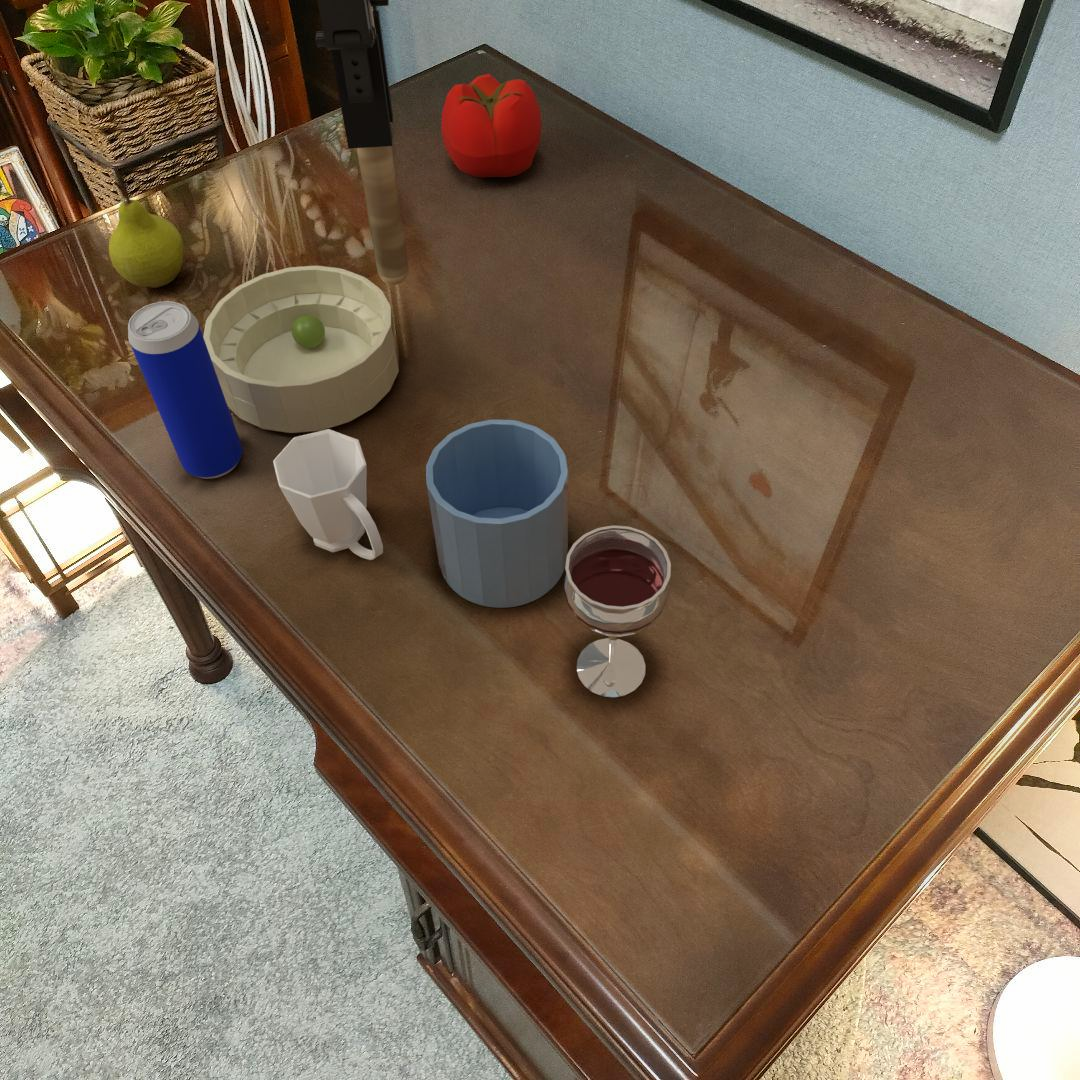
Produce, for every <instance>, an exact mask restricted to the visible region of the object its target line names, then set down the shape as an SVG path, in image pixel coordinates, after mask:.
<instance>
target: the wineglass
mask: <svg viewBox="0 0 1080 1080" xmlns="http://www.w3.org/2000/svg"><path fill="white" fill-rule="evenodd" d="M671 563H672V562H671V559H670V557H669V554H668V551H667V550H666V549H665V548H664V546H663V545H662V544H661V543H660V542H659V540H658V539H656V538H655V537H653V536H652V535H650V534H649V533H647V532H646V531H644V530H641V529H638V528H635V527H631V526H628V525H627V526H626V525H608V526H601V527H597V528H594V529H593V530H591V531H588V532H586V533H584V534H583V535H582V536H580V537H579V538H578V539H577V540H575V542H573V544H572V546H571V547H570V549H569V550H568V554H567V559H566V565H565V569H564V570H565V578H564V587H563V588H564V595H565V599H566V604H567V607H568V608H569V609H570V611H571V612H572V613H573V615H574V616H575V618H576V619H577V620H578V621H579V622H580V623H581V624H582V625H583V626H585V627H586V628H588V629H589V630H590V631H593V632H595V633H598V634H600V635H602V636H607V638H602V639H597V640H595V641H593V642H591V643H588V645H586V646H585V648H583V649H582V650H581V652H580V654H579V656H578V658H577V661H576V672H577V677H578V679H579V680H580V681H581V683H582V685H583V686H584V687H585V688H586V689H587V690H589V691H590V692H591V693H594V694H596V695H599V696H601V697H604V698H605V697H606V698H619V697H625V696H626V695H628V694H631V693H632V692H634V691H636V690H637V689H638V687H639V686H640V685H642V683H643V680H644V679H645V676H646V669H647V668H646V667H647V666H646V663H645V659H644V656H643V655H642V653H641V652H640V650H639V649H638V648H637V647H636V646H634V645H633V644H631V643H630V642H628V641H626V640H623V639H620V638H622V637H626V636H632V635H635V634H638V633H640V632H642V631H644V630H645V629H648V628H649V627H650V626H651V625H652V624H653V623H654V622H655V621H656V620H657V619H658V618H659V617H660V616H661V614H662V612H663V611H664V608H665V606H666V604H667V601H668V599H669V596H670V579H671V571H672V569H671V568H672V564H671Z"/></svg>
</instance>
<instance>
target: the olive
mask: <svg viewBox="0 0 1080 1080" xmlns="http://www.w3.org/2000/svg"><path fill="white" fill-rule="evenodd" d="M292 336H293V338H294V340H295V341H296V343H297V344H299V345H300V346H302V347H304V348H314V347H316V346H318V345H319V344H321V342H322V341H323V339H324V337H325V328H324V325H323V323H322V322H321V321H320V320H319V319H318V318H316V317H314V316H311V315H304V316H301V317H299V318H298V319H297V320H296V321H295V322H294V324H293V326H292Z"/></svg>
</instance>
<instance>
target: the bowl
mask: <svg viewBox="0 0 1080 1080" xmlns="http://www.w3.org/2000/svg"><path fill="white" fill-rule="evenodd" d="M304 315H311V316H314V317H316V318H318V319H319V320H320V321H321V322H322V323H323V325H324V328H325V337H324V339H323V341H322V342H321V344H319V345H318V346H316V347H314V348H304V347H302V346H300V345H299V344H297V343H296V341H295V340H294V338H293V336H292V326H293V324H294V322H295V321H296V320H297V319H298V318H299V317H301V316H304ZM394 323H395V322H394V317H393V310H392V306H391V304H390V302H389V300H388V298H387V297H386V295H385V293H384V291H383V290H382V289H381V288H380V287H378V286H377V285H376V284H375V283H373V282H372V281H371V280H369V278H367V277H365V276H363V275H360V274H358V273H355V272H353V271H350V270H347V269H344V268H339V267H331V266H323V265H304V266H291V267H285V268H282V269H278V270H274V271H271V272H266V273H262V274H260V275H258V276H255V277H254V278H252V279H249V280H248V281H246V282H243V283H241V284H239V285H238V286H236V287H235V288H233V289H232V290H231V291H229V293H227V294H226V295H225V296H224V297H222V298H221V299H220V300H218V302H217V303H216V304H215V306H214V308H213V309H212V311H211V312H210V314H209V315H208V317H207V319H206V320H205V324H204V330H203V334H202V335H203V337H204V340H205V343H206V346H207V349H208V352H209V355H210V357H211V360H212V363H213V366H214V369H215V372H216V374H217V377H218V380H219V383H220V386H221V389H222V391H223V394H224V397H225V400H226V403H227V406H228V409H229V410H231V411H232V412H233V413H234V414H235V415H236V416H237V417H238V418H239V419H240V420H243V421H245V422H246V423H249V424H251V425H253V426H256V427H258V428H259V429H262V430H267V431H274V432H280V433H281V432H282V433H287V434H295V433H296V434H298V433H310V432H319V431H323V430H327V429H331V428H333V427H338V426H340V425H344V424H347V423H350V422H351V421H352V422H353V420H355V419H357V418H359V417H360V416H362V415H363V414H365V413H367V412H368V411H369V412H370V411H371V410H372V409H373V408H375V407H376V406H377V405H378V403H379V402H381V400H383V398H385V396H386V395H387V394H388V393H390V391H391V389H392V387H393V385H394V382H395V380H396V378H397V376H398V374H399V371H400V368H399V367H400V365H399V364H400V362H399V361H400V359H399V357H400V355H399V349H398V342H397V336H396V335H397V334H396V330H395V324H394Z"/></svg>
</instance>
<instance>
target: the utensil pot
mask: <svg viewBox="0 0 1080 1080" xmlns="http://www.w3.org/2000/svg"><path fill="white" fill-rule="evenodd" d="M425 477H426V478H425V479H426V480H425V481H426V489H427V496H428V503H429V509H430V514H431V515H430V517H431V522H432V529H433V534H434V541H435V548H436V555H437V560H438V566H439V569H440V573H441V575H442V576H443V579H444V580H445V582H446V583H447V585H448V586H449V587H450V588H451V590H453V591H454V592H455V593H456V594H457V595H458V596H460V597H461V598H462V599H464V600H466V601H469V602H470V603H472V604H475V605H478V606H483V607H488V608H496V609H497V608H499V609H505V608H513V607H519V606H523V605H526V604H530V603H531V602H534V601H536V600H538V599H540V598H541V597H543V596H544V595H545V594H548V593H549V592H550V590H552V589H553V588H554V587H555V586H556V585H557V584H558V582H559V581H560V579H561V577H562V576H563V574H564V571H565V570H566V569H565V567H566V559H567V554H568V553H569V546H568V544H569V468H568V462H567V455H566V453H565V452H564V451H563V448H561V446H560V445H559V443H558V442H557V440H556V439H555V438H554V437H553V436H551V435H549V434H548V433H547V432H546V431H544V430H543V429H541V428H539V426H535V425H532V424H529V423H526V422H524V421H523V422H522V421H519V420H515V419H495V418H493V419H492V418H491V419H487V420H481V421H477V422H472V423H469V424H466V425H464V426H462V427H460V428H458V429H456V430H454V431H452V432H450V433H449V434H447V435H446V436H445V437H444V438H443V439H442V440H441V441H440V442H439V443H438V444H436V446H435V447H434V448H433V450H432V451H431V454H430V456H429V459H428V461H427V463H426V465H425Z"/></svg>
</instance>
